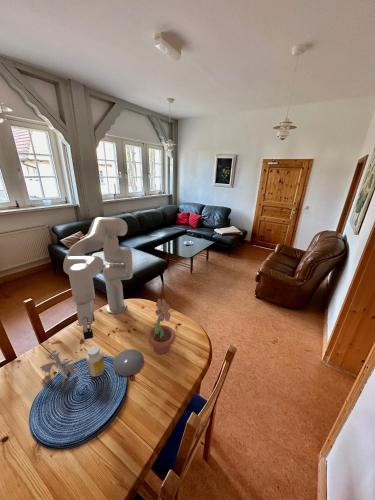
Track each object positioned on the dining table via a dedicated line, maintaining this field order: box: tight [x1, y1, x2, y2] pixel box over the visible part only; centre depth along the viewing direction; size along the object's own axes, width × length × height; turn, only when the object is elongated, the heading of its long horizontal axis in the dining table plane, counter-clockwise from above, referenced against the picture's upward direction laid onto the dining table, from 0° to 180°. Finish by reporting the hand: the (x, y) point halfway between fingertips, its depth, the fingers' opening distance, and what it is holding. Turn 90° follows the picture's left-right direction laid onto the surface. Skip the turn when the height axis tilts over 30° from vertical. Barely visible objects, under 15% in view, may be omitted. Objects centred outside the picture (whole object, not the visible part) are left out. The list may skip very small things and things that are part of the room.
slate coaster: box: [112, 348, 144, 377], centre depth 99 cm, size 14×14×1 cm
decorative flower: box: [147, 298, 176, 355], centre depth 101 cm, size 15×14×30 cm
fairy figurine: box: [39, 349, 78, 387], centre depth 88 cm, size 10×18×14 cm, turn 64°
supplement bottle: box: [85, 345, 105, 378], centre depth 92 cm, size 7×7×13 cm
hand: (89, 329), depth 85 cm, fingers open, 9 cm apart
